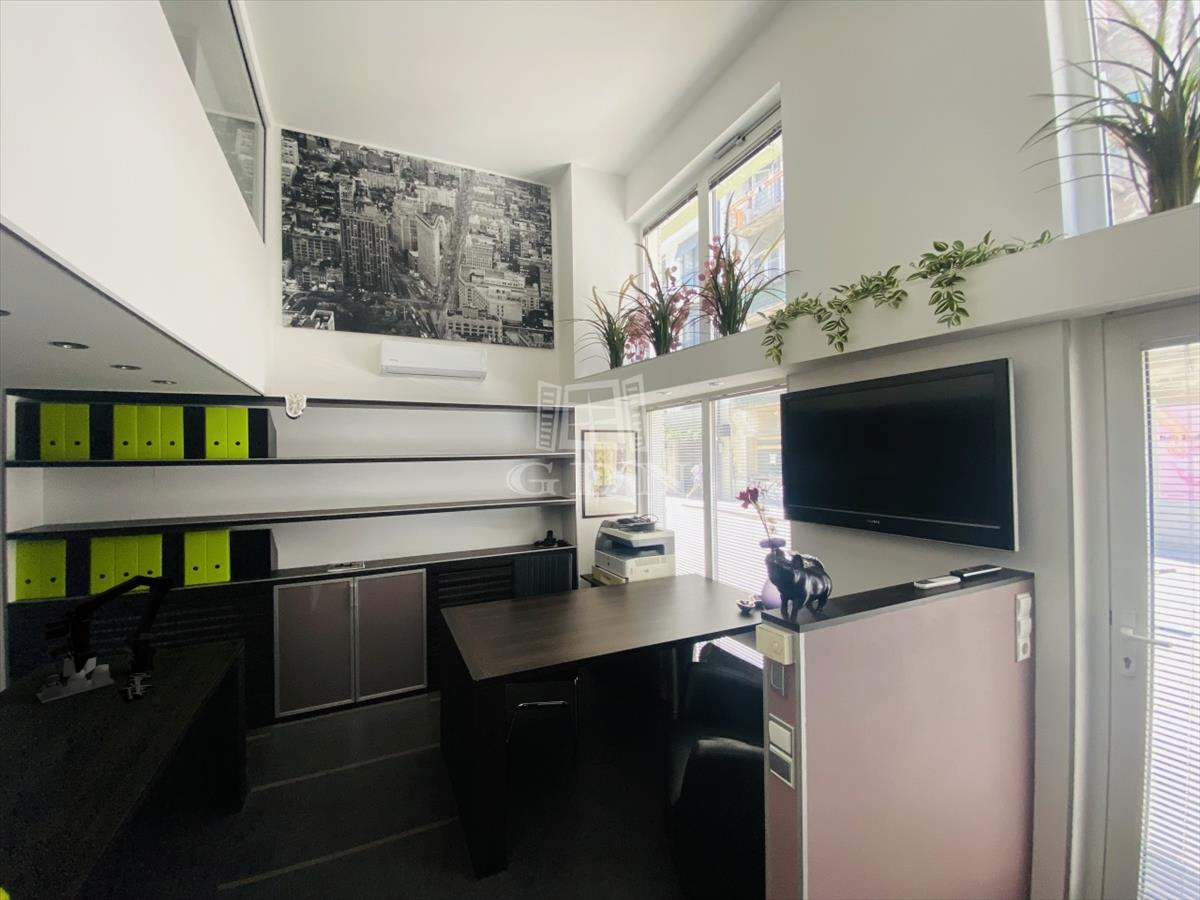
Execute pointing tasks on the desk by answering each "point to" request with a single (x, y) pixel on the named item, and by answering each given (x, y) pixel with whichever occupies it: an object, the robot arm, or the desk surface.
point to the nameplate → (136, 686)
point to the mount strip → (74, 687)
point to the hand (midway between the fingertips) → (77, 672)
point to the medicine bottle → (70, 667)
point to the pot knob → (52, 680)
